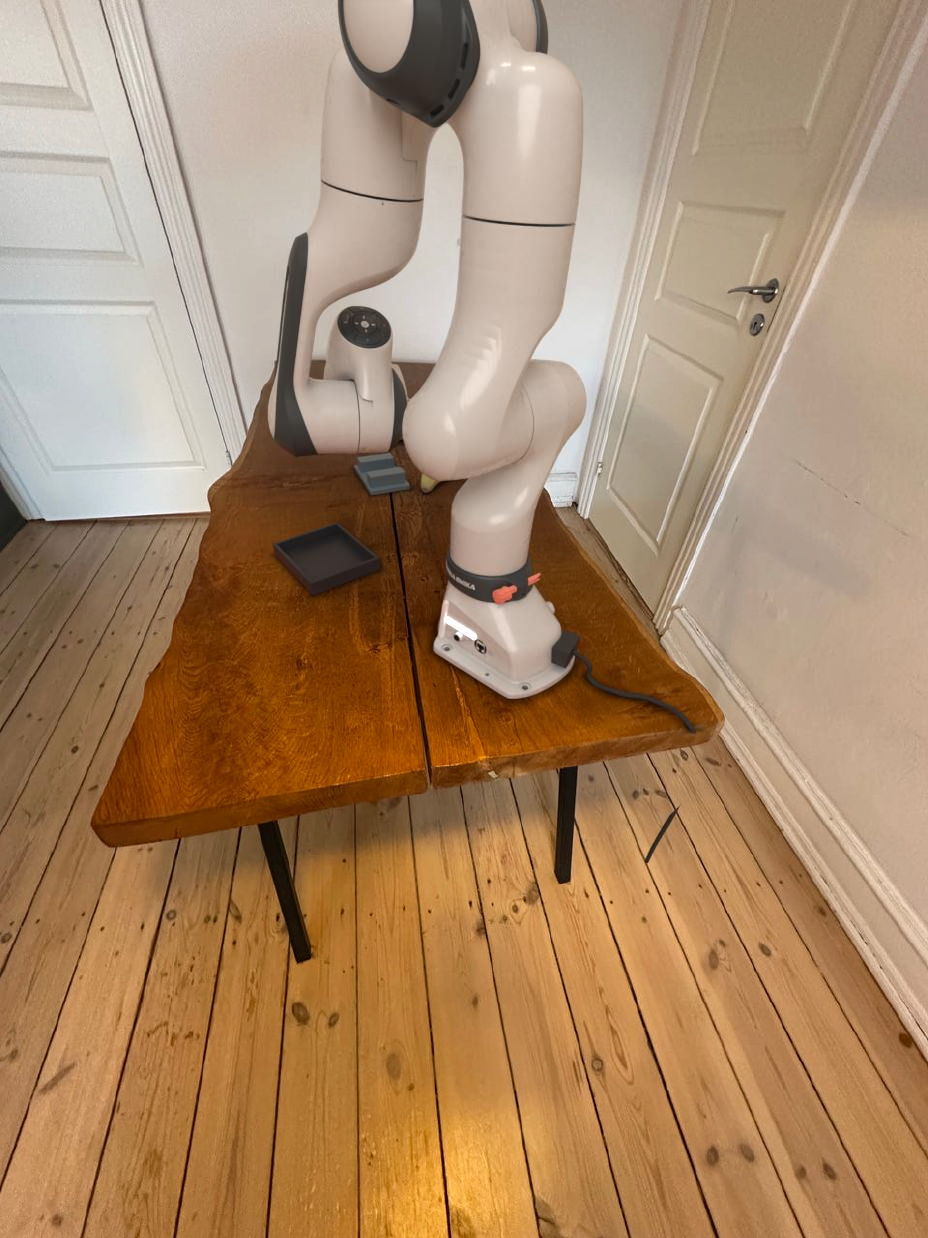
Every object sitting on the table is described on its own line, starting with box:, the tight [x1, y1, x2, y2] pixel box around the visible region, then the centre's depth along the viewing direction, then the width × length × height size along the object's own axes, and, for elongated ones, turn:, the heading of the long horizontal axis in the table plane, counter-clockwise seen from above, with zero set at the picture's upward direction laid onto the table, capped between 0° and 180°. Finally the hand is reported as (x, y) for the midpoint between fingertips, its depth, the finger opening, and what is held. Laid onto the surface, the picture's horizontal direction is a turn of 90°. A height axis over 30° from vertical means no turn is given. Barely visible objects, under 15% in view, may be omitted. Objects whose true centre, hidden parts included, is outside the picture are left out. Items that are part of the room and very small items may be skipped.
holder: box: [353, 452, 411, 496], centre depth 125 cm, size 14×9×4 cm, turn 24°
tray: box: [272, 521, 381, 597], centre depth 99 cm, size 15×13×2 cm
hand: (343, 427), depth 99 cm, fingers closed on tape, 3 cm apart
